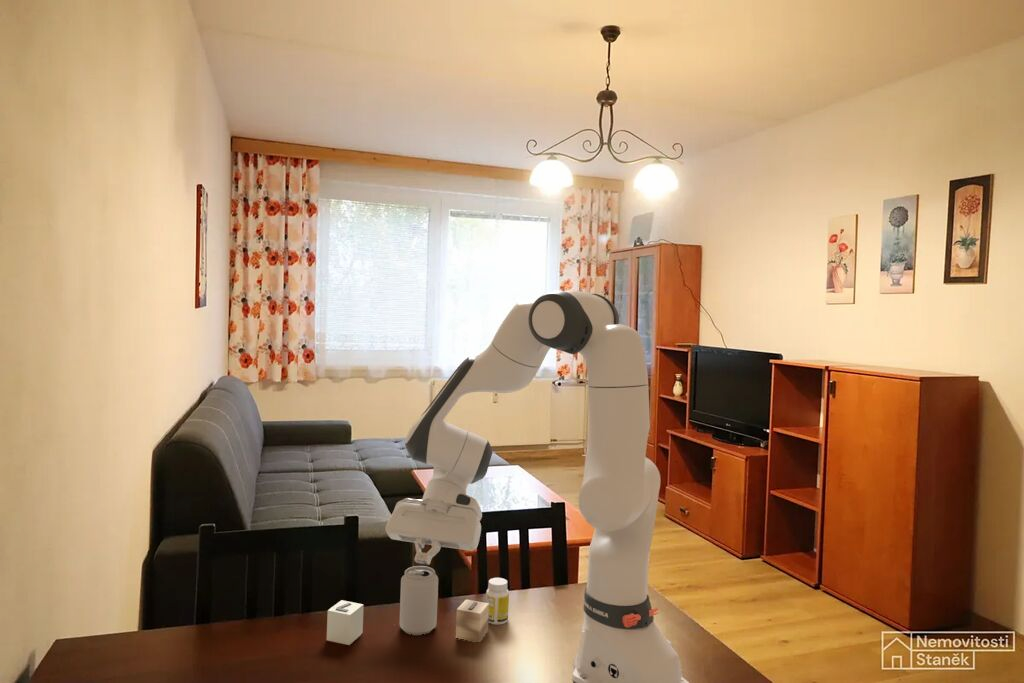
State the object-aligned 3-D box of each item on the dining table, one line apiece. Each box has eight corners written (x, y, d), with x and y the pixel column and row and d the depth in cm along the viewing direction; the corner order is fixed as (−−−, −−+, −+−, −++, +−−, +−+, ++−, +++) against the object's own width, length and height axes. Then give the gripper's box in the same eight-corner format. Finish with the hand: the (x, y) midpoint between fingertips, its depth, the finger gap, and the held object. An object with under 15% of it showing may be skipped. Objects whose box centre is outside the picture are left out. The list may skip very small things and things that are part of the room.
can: (437, 636, 135) (439, 577, 135) (399, 637, 134) (401, 578, 134) (435, 619, 143) (437, 563, 142) (399, 620, 142) (401, 564, 141)
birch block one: (487, 632, 138) (488, 602, 138) (479, 643, 133) (480, 612, 133) (464, 627, 140) (466, 598, 139) (455, 638, 135) (456, 608, 135)
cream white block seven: (362, 633, 135) (363, 603, 135) (349, 645, 130) (350, 613, 130) (340, 629, 137) (341, 599, 136) (326, 640, 132) (327, 609, 132)
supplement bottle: (509, 616, 146) (510, 577, 145) (506, 626, 141) (508, 586, 141) (486, 614, 146) (488, 575, 146) (483, 624, 141) (485, 584, 141)
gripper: (394, 489, 148) (370, 548, 139) (482, 500, 141) (463, 562, 132) (403, 504, 152) (381, 562, 143) (489, 515, 146) (471, 576, 137)
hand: (421, 562), depth 138 cm, fingers closed
